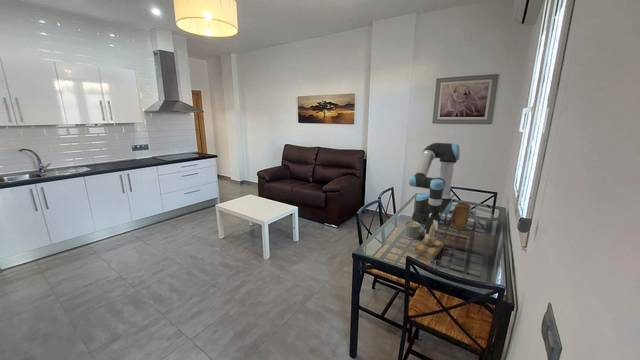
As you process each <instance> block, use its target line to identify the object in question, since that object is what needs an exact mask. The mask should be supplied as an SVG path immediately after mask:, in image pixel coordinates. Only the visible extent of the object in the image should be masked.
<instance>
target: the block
mask: <svg viewBox="0 0 640 360" xmlns="http://www.w3.org/2000/svg"><path fill="white" fill-rule="evenodd" d="M470 209H471V205H470V204H469V203H464V202H457V204H455V206H454V209H453V212H452V217H451V222H450V224H451V226H450V227H452V228H454V229H456V230H461V231H465V230H466V229H467V226H468V222H469V216H470V211H471V210H470Z"/></svg>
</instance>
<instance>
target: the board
mask: <svg viewBox="0 0 640 360" xmlns="http://www.w3.org/2000/svg"><path fill="white" fill-rule="evenodd" d="M426 243H427V238H425V237H424V238H423V239H422V240H421V241H420V242H419V243H418V244H417V245H416V246H415V248H414V254H417V255H419V256H423V257H424V258H427V259H430V260H433V261H434V260H435V258H437V256H439V255H438V254H439V253H441V251H442V249H444V242H442V241H440V240H437V239H434V242H433V246H432V248H431V247H428V246H427V245H426Z"/></svg>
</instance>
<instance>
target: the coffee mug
mask: <svg viewBox="0 0 640 360" xmlns="http://www.w3.org/2000/svg"><path fill="white" fill-rule="evenodd" d="M420 230H421V231H420ZM403 231H404V232H403V235H404V234H405V236H407V237H409V238H413V239H412V240H417V239H418V238H419V236H422V235H424V234H425V228H424V227H422V226H420V223H418V222H415V221H413V220H407V221H405V223H404V230H403ZM405 236H404V237H405Z"/></svg>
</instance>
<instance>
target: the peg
mask: <svg viewBox="0 0 640 360" xmlns="http://www.w3.org/2000/svg"><path fill="white" fill-rule="evenodd" d="M430 229H431V231H430V238H429V239H428V238H427V243H426V245H427V246H428V247H431V248H432V246H433V242H434V240H435V232H436V230H435V225H433V224H432V225H431V228H430Z"/></svg>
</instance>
